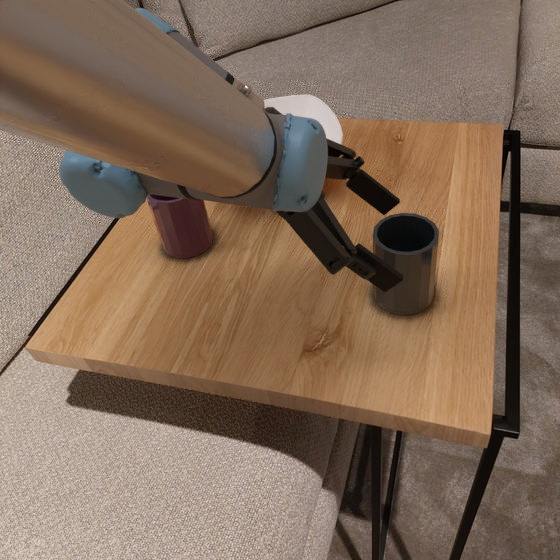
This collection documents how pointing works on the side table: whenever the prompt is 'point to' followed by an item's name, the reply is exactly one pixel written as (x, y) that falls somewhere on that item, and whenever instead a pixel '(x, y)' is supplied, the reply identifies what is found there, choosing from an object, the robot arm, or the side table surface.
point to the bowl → (309, 112)
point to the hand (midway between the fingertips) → (393, 243)
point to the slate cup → (407, 261)
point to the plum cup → (181, 225)
